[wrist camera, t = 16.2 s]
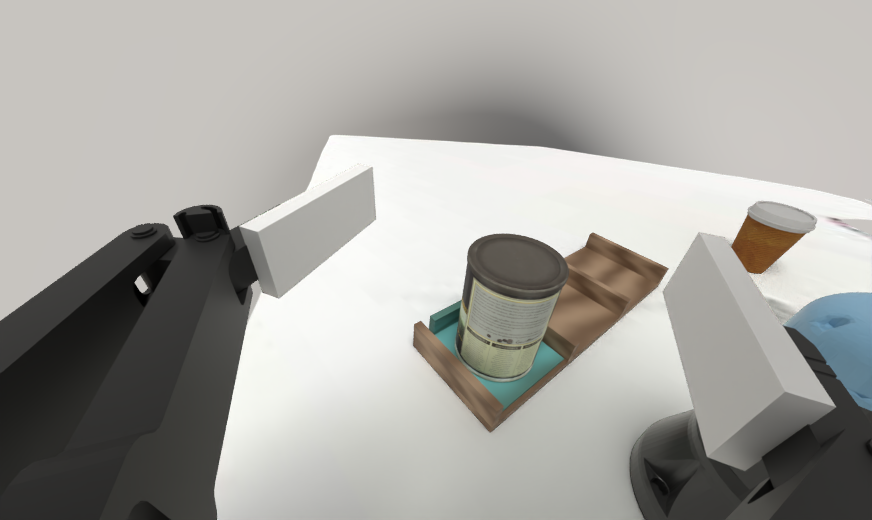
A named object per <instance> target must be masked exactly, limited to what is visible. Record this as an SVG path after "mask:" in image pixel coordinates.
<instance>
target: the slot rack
mask: <svg viewBox="0 0 872 520" xmlns="http://www.w3.org/2000/svg"><path fill="white" fill-rule="evenodd" d="M564 259H565V261H566V262H567V265H568V268H569V276H568V279H567V281H566V283H565V285H564V286H563V287H562V290H561V293H560V295H559V298H558V301H557V303H556V306H555V308H554V311H553V313H552V316H551V318H550V321H549V324H548V326H547V329H546V331H545V334H544V336H543V339H542V341H541V344H540V347H539V349H538V352H537V354H536V357H535V359H534V364H533V366H532V368H531V370H530V371H529V372H528V373H527V374H526V375H525V376H523V377H522V378H520V379H518V380H515V381H511V382H494V381H489V380H485V379H483V378H481V377H479V376H477V375H475V374H474V373H472V372H471V371H469V370H468V369H467V368H466V367H465V366H464V365H463V364H462V363H461V361H460V360H459V358H458V356H457V353H456V350H455V337H456V334H457V327H458V321H459V315H460V308H461V302H462V300H461V301H459V302H457V303H455V304H453V305H451V306H449V307H447V308H445V309H443V310H441V311H439V312H437V313H435V314H433V315H431V316H430V324H429V329H428V328H427V327H426V326H425V325H424V324H423V323H422V322H421V321H420V322H418V323H416V324H414V341H413V346H414V347H415V348H416V349H417V350H418V351H419V353H420V354H421V355H422V356H423V357H424V358H425V359H426V361H427V362H428V363H429V364H430V365H431V366H432V367H433V368H434V370H435V371H436V372H437V373H438V374H439V375H440V376H441V378H442V379H443V380H444V381H445V382H446V383H447V384H448V385H449V387H450V388H451V389H452V390H453V391H454V392H455V393H456V395H457V396H458V397H459V398H460V399H461V400H462V401H463V402H464V404H465V405H466V406H467V407H468V408H469V409H470V410H471V412H472V413H473V414H474V415H475V416H476V417H477V418H478V419H479V421H480V422H481V423H482V424H483V425H484V426H485V427H486V429H487V430H488V431H489V432H492V431H493V430H494V429H495V428H496V427H497V426H498V425H500V424H501V423H502V422H503V421H504V420H505V419H506V418H508V417H509V416H510V415H511V414H512V413H513V412H514V411H516V410H517V409H518V408H519V407H520V406H521V405H522V404H524V403H525V402H526V401H527V400H528V399H529V398H531V397H532V396H533V395H534V394H535V393H536V392H537V391H539V390H540V389H541V388H542V387H543V386H544V385H545V384H547V383H548V382H549V381H550V380H551V379H552V378H553V377H555V376H556V375H557V374H558V373H559V372H560V371H561V370H563V369H564V368H565V367H566V366H567V365H568V364H569V363H571V362H572V361H573V360H574V359H575V358H576V357H577V356H579V355H580V354H581V353H582V352H583V351H584V350H585V349H587V348H588V347H589V346H590V345H591V344H592V343H593V342H595V341H596V340H597V339H598V338H599V337H600V336H601V335H603V334H604V333H605V332H606V331H607V330H608V329H610V328H611V327H612V326H613V325H614V324H615V323H616V322H618V321H619V320H620V319H621V318H622V317H623V316H624V315H626V314H627V313H628V312H629V311H630V310H631V309H632V308H634V307H635V306H636V305H637V304H638V303H639V302H640V301H642V300H643V299H644V298H645V297H646V296H647V295H648V294H650V293H651V292H652V291H653V290H654V289H655V288H656V287H658V285H659V283H660V282H661V280H662V279H663V277H664V275H665V274H666V272H667V270H668V269H669V268H667V267H665V266H663V265H660V264H658V263H656V262H654V261H652V260H650V259H648V258H646V257H644V256H641V255H639V254H637V253H635V252H633V251H631V250H629V249H627V248H624V247H622V246H620V245H618V244H616V243H614V242H612V241H610V240H608V239H605V238H603V237H601V236H599V235H597V234H595V233H591V234H590V236H589V238H588V241H587V243H586V246H585V247H584V248H582V249H580V250H578V251H577V252H575V253H573V254H571V255H569V256H567V257H566V258H564Z"/></svg>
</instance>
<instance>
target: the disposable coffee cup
mask: <svg viewBox="0 0 872 520" xmlns="http://www.w3.org/2000/svg"><path fill="white" fill-rule="evenodd" d="M816 222H817V218H816V217H814V216H813V215H811V214H810V213H808V212H805V211H803V210H800V209H798V208H795V207H792V206H788V205H785V204H781V203H776V202H770V201H758V202H756V203H755V204H754V205H753V206H750V207H749V208H748V215H747V217H746V219H745V221H744V223H743V225H742V227H741V229H740V231H739V233H738V235H737V237H736V238H735V240H734V242H733V244H732V246H731V248H732V249H733V251H734V252H735V254H736V255H737V257H738V258H739V260H740V261H741V263H742V264H743V266H744V267H745V269H746V270H747V272H751V273H763V272H764V271H765V270H766V269H767V268H769V267H770V266H771V265H772V264H773V263H774V262H775V261H776V260H777V259H779V258H780V257H781V256H782V255H783V254H784V253H785V252H786V251H787V250H789V249H790V248H791V247H792V246H793V245H794V244H795V243H796V242H797V241H798V240H800V239H801V238H802V237H803V236H804V235H805V234H806V233H809V232H810V231H813V230H814V229H815V228H816V227H815V224H816Z"/></svg>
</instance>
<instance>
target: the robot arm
mask: <svg viewBox="0 0 872 520" xmlns="http://www.w3.org/2000/svg"><path fill="white" fill-rule="evenodd" d="M173 217H174V219H175V221H176V223H177V225H178V228H179V230H180V232H181V234H182V236H183V238H175V237H173V235H172V233H171V231H170V229H169V227H168V226H167V225H165V224H159V223H154V224H150V223H147V224H144V225H143V224H141V225H138V226H136V227H134V228H131V229H129V230H127V231H125V232H124V233H122V234H121V235H119V236H118V237H116V238H115V239H114V240H112V241H111V242H109V243H108V244H107V245H105V246H104V247H103V248H101V249H100V250H98V251H97V252H96V253H94V254H93V255H92V256H90V257H89V258H87V259H86V260H84V261H83V262H82V263H80V264H79V265H78V266H76V267H75V268H73V269H72V270H70V271H69V272H68V273H66V274H65V275H64V276H62V277H61V278H59V279H58V280H57V281H55V282H54V283H52V284H51V285H50V286H48V287H47V288H46V289H44V290H43V291H41V292H40V293H39V294H37V295H36V296H34V297H33V298H32V299H30V300H29V301H27V302H26V303H25V304H23V305H22V306H20V307H19V308H18V309H16V310H15V311H14V312H12V313H11V314H9V315H8V316H7V317H5V318H4V319H2V320H1V321H0V520H217V509H216V504H215V498H214V486H215V480H216V475H217V470H218V465H219V460H220V455H221V450H222V445H223V440H224V435H225V430H226V425H227V420H228V415H229V410H230V405H231V400H232V395H233V390H234V385H235V380H236V375H237V370H238V365H239V360H240V355H241V350H242V345H243V340H244V335H245V330H246V324H247V319H248V314H249V309H250V304H251V299H252V294H253V292H252V288H251V284H252V283H254V282H255V281H257V280H258V281H259V284H260V287H261V290H262V292H263V293H265V294H268V295H271V296H273V297H276V298H280V297H282V296H283V295H284V294H285V293H287V292H288V291H289V290H290V289H291V288H293V287H294V286H295V285H296V284H298V283H299V282H300V281H301V280H302V279H304V278H305V277H306V276H307V275H309V274H310V273H311V272H312V271H313V270H315V269H316V268H317V267H318V266H319V265H321V264H322V263H323V262H324V261H326V260H327V259H328V258H329V257H330V256H332V255H333V254H334V253H335V252H337V251H338V250H339V249H340V248H341V247H343V246H344V245H345V244H346V243H348V242H349V241H350V240H351V239H352V238H354V237H355V236H356V235H357V234H359V233H360V232H361V231H362V230H363V229H365V228H366V227H367V226H368V225H370V224H371V223H372V222H373V221H374V220H376V211H375V196H374V182H373V167H372V166H367V165H362V164H357V165H355V166H353V167H351V168H349V169H347V170H345V171H344V172H342V173H340V174H338V175H336V176H334V177H332V178H330V179H328V180H326V181H324V182H323V183H321V184H319V185H317V186H315V187H313V188H311V189H309V190H307V191H305V192H303V193H302V194H300V195H298V196H296V197H294V198H292V199H290V200H288V201H286V202H284V203H283V204H280V205H278V206H276V207H274V208H272V209H270V210H268V211H266V212H264V213H262V214H260V216H256V217H254V218H253V219H251V220H249V221H247V222H245V223H243V224H241V225H239V226H237V227H235V228H233V229H231V230H229V227H228V225H227V222H226V219H225V216H224V214H223V211H222V209H221V208H220V207H218V206H215V205H200V206H193V207H190V208H186V209H184V210H182V211H180V212H177V213H176V214H175V215H174V216H173ZM140 275H141V277H142V278H143V280H144V282H145V283H146V285H147V287H148V289H147V290H146V291H145V292H144V293H141V292H140V291H139V289H138V288H137V286H136V285H135V283H134V282H135V281H136V279H137V278H138V277H139V276H140ZM663 295H664V299H665V302H666V306H667V310H668V314H669V317H670V321H671V325H672V329H673V332H674V336H675V340H676V343H677V347H678V351H679V355H680V358H681V362H682V366H683V370H684V373H685V377H686V381H687V384H688V388H689V392H690V396H691V399H692V403H693V407H694V409H693V410H690V411H687V412H684V413H680V414H677V415H674V416H671V417H667V418H664V419H662V420H659V421H657V422H656V423H654V424H653V425H651V426H650V427H649V428H648V429H647V430H646V431H645V432H644V433H643V434H642V435H641V437H640V438H639V439H638V440H637V442H636V443H635V445H634V447H633V450H632V454H631V460H630V473H631V480H632V485H633V488H634V492H635V495H636V498H637V501H638V503H639V506H640V508H641V510H642V513H643V515H644V517H645V519H646V520H872V293H858V292H856V293H840V294H834V295H829V296H825V297H822V298H819V299H817V300H814V301H812V302H811V303H809V304H807V305H806V306H805V307H803V308H802V309H801V310H800V311H799V312H798V313H796V314H795V315H794V316H793V317H792V318H791V319H789V320H788V321H787V322H786V323H785V324H784V325H782V324H781V322H780V321H779V319H778V318H777V316H776V315H775V313H774V312H773V310H772V308H771V307H770V305H769V304H768V302H767V301H766V299H765V298H764V296H763V295H762V293H761V292H760V290H759V289H758V287H757V286H756V284H755V283H754V281H753V280H752V278H751V277H750V275H749V273H748V272H747V270H746V269H745V267H744V266H743V264H742V263H741V261H740V260H739V258H738V257H737V255H736V254H735V252H734V251H733V249H732V248H731V246H730V245H729V243H728V242H727V240H726V238H725V237H720V236H715V235H710V234H705V233H700V232H699V233H698V235H697V236H696V238H695V240H694V241H693V243H692V244H691V246H690V248H689V249H688V251H687V253H686V254H685V256H684V258H683V259H682V261H681V262H680V264H679V266H678V267H677V269H676V271H675V272H674V274H673V276H672V277H671V279H670V281H669V282H668V284H667V285H666V287H665V289H664V290H663Z"/></svg>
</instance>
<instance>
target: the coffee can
mask: <svg viewBox="0 0 872 520" xmlns="http://www.w3.org/2000/svg"><path fill="white" fill-rule="evenodd" d="M467 262H468V263H467V269H466V276H465V283H464V289H463V296H462V302H461V308H460V315H459V321H458V327H457V334H456V337H455V350H456V353H457V356H458V358H459V360H460V361H461V363H462V364H463V365H464V366H465V367H466V368H467V369H468V370H469V371H471V372H472V373H474V374H475V375H477V376H479V377H481V378H483V379H485V380H489V381H494V382H511V381H515V380H518V379H520V378H522V377H523V376H525V375H526V374H527V373H528V372H529V371H530V370H531V368H532V366H533V364H534V359H535V357H536V354H537V352H538V349H539V347H540V344H541V341H542V339H543V336H544V334H545V331H546V329H547V326H548V324H549V321H550V318H551V316H552V313H553V311H554V308H555V306H556V303H557V301H558V298H559V295H560V293H561V290H562V287H563V286H564V285H565V283H566V281H567V279H568V276H569V268H568V265H567V262H566V261H565V259H564V258H563V257H562V256H561V255H560V254H559V253H558V252H557V251H556V250H554V249H553V248H551V247H550V246H548V245H546V244H545V243H543V242H540V241H538V240H535V239H532V238H529V237H526V236H521V235H515V234H493V235H488V236H484V237H482V238H480V239H478V240H476V241H475V242H474V243H473V244H472V245H471V246H470V248H469V250H468V256H467Z"/></svg>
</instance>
